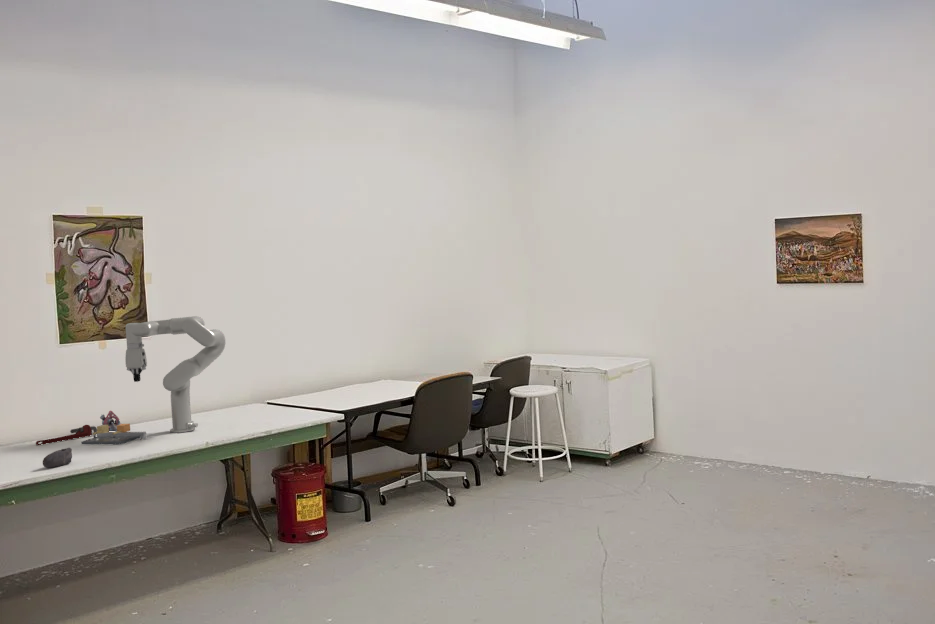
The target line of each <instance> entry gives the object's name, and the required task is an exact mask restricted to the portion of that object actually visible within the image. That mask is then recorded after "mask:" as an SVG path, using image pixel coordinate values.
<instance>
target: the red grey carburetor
mask: <svg viewBox="0 0 935 624" xmlns="http://www.w3.org/2000/svg"><path fill="white" fill-rule="evenodd" d="M99 418H100V420H102V421H101V424H102V425H108V427H109V431H116V432H117V425H120V424H122V423H121V421H120V418H119V417H118V416H117V415H116V414H115V413H114V412H113V411H112V410H109V411H108V413H107V414H106V417H105V414H104V413H103V414H101V416H100V417H99Z"/></svg>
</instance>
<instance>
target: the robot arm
mask: <svg viewBox="0 0 935 624" xmlns="http://www.w3.org/2000/svg"><path fill="white" fill-rule="evenodd" d="M204 320H205V319H203V318H202V317H201V316H197V315H195V316H186V317H185V316H184V317H174V318H170V319H169V318H168V319H161V320H151V321H144V322H141V323H140V322H130V323H127V324H126V325H125V336H126V337H125V338H126V340H125V341H126V350H125V357H124V358H125V367H126V371H129V372H130V373H131V374H132V376H133V381H134V383H135V382H137V383H138V382H140V381H141V374H142V372H143V371H145V370H147V367H148V361H147V355H146V350H145V348H143V347H145V344H144V343H143V337H151V336H156V335H157V336H158V335H168V334H171V335H184V334H187V335H188V336H189V337H190V338H192V339H193V340H195V341H196V342H197V343H198V344H200V345H201V346H203V347H204V348H202V349H200V351H199V352H197V353H196V354H195V355H193V357H190V358H187V359H184V360H183V361H181V362H179V363H178V364H177V365H176V366H175V367H174V368H172V369H171V370H170V371H169V372H168V373H167V374H165V376H164V377H163V378H162V387H163V388H165V389H166V391H169V392H170V408H171V419H172V420H171V422H172V423H171V424H172V428H170V429H169V432H170V433H175V434H176V433H177V434H178V433H180V434H181V433H188V432H192V431H195V429H196V428H198V426H199V423H194V421H193V420H192V415H191V414H192V410H191V396H190V395H191V393H190V390H191V388H190V387H191V379H193V378H194V377H196V376H198V375H200V374H201V373H202V372H204V370H206V368H207V367H209V366H210V365H211V364H212V363H213V362H215V361H216V360H217V359H218V358H219V357H220V356H221V355H222V353H223V352H224V349H225V347H226V336H225V334H224V333H223V332H222V330H220V329H208V328H207V327H205V321H204Z"/></svg>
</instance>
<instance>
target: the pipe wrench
mask: <svg viewBox="0 0 935 624" xmlns="http://www.w3.org/2000/svg"><path fill="white" fill-rule="evenodd" d="M69 432H70V433H71V434H68V435H63V436H58V437H54V438H47V439H41V440H37V441H35V445H36V446H42V445H41V444H43V445H47V444H46V443H49V444H52V442H54V443H58V442H57V441H60V442H63V441H62V440H65V441H69V440H68V439H71V440H74V439H73V438H77V439H80V438H79V437H82V438H86V437H85V436H88V437H91V436H90V435H93V433H94V432H97V426H94V425H92V426H90V424H84V425H83V426H81V427H79V428H73V429H70V431H69Z"/></svg>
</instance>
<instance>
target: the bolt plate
mask: <svg viewBox="0 0 935 624" xmlns="http://www.w3.org/2000/svg"><path fill="white" fill-rule="evenodd" d="M96 428H97V432H94V431H93V432H92V435H93V436H92V438H88V439H86V440H82V441H80V442H81V444H113V445H124V444H126V443H129V442H132V441H134V440H138V439H140V440H142V441H143V440H146V439H147V432H146V431H127V432H120V433H117V434H115V438H113V434H112V433H113V432H109V427H108V425H101V424H100V425H97V426H96Z"/></svg>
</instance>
